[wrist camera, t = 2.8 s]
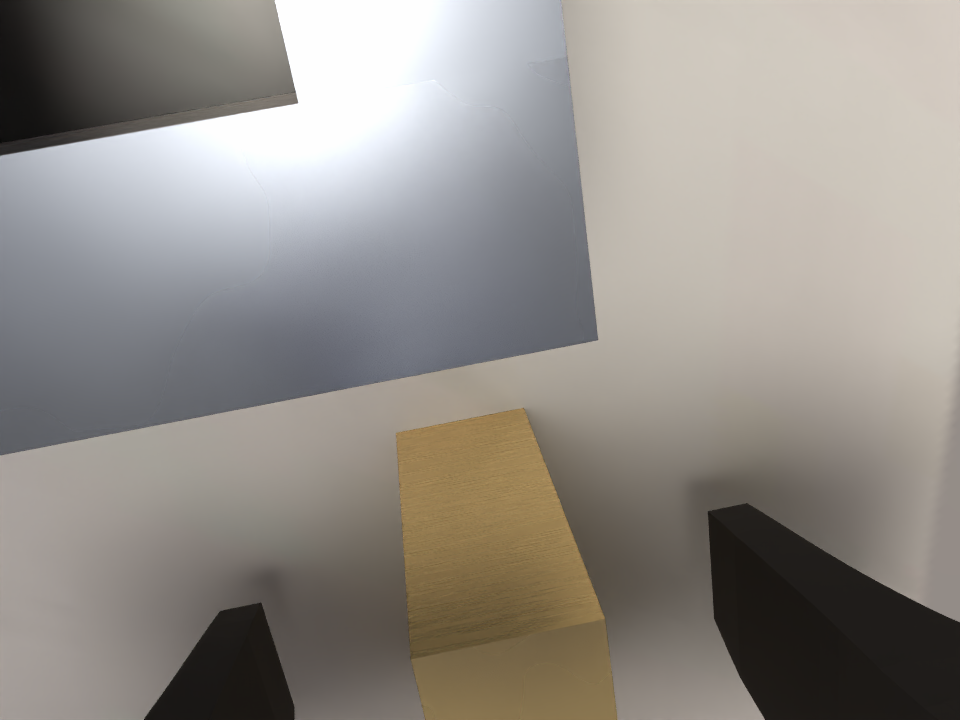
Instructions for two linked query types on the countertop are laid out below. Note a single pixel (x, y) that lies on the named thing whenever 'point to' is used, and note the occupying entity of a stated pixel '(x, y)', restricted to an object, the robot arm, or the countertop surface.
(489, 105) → the box
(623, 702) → the countertop surface
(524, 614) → the block
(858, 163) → the countertop surface
